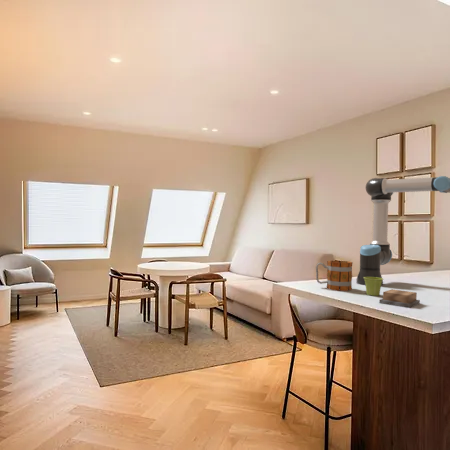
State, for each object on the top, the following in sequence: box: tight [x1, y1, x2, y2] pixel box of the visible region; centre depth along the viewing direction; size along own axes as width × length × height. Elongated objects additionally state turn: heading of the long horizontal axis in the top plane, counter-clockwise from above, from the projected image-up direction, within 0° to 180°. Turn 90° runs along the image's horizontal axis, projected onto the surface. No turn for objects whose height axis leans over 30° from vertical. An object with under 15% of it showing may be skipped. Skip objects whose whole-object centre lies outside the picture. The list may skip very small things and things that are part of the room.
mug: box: [315, 260, 353, 292], centre depth 214 cm, size 20×14×15 cm
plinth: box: [378, 288, 421, 308], centre depth 177 cm, size 13×14×5 cm
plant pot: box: [364, 277, 384, 297], centre depth 197 cm, size 9×9×9 cm
